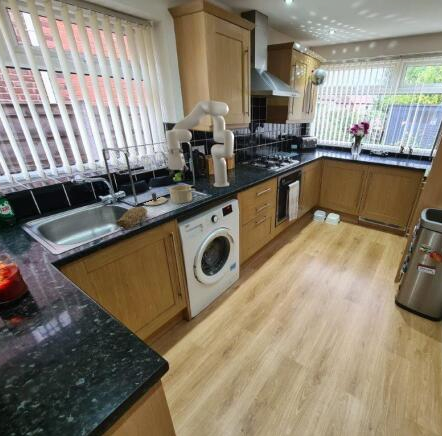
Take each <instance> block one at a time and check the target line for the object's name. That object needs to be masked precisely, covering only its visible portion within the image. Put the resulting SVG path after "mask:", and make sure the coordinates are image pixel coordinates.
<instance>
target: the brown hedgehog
mask: <svg viewBox="0 0 442 436" xmlns="http://www.w3.org/2000/svg"><path fill="white" fill-rule="evenodd" d="M147 214H148V210H147V209H146V207H144V206H135V207H131V208H129V209H128V210H127V211H125V212H123V216H121V217H120V218H119V219H118V220H116V221H115V224H116V226H118V227H119V228H123V229H126V230H128V229H131V228H133V227H135V226H136V225H137V224H139V223H140V222H142V221H143V220H144V219H145V218H146V217H147Z"/></svg>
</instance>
